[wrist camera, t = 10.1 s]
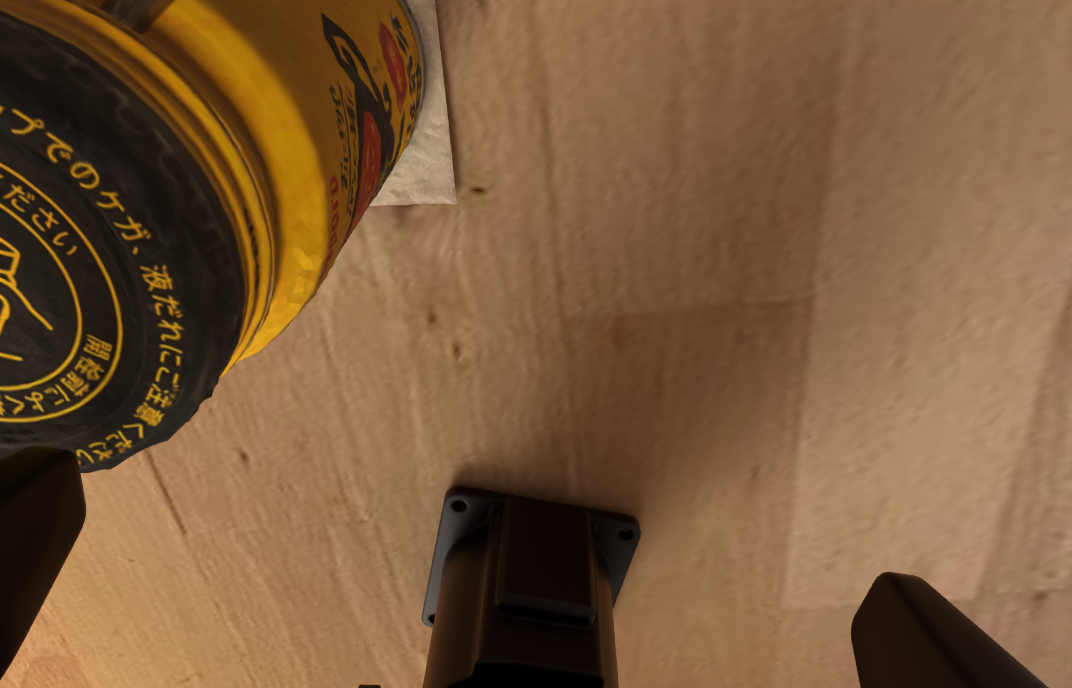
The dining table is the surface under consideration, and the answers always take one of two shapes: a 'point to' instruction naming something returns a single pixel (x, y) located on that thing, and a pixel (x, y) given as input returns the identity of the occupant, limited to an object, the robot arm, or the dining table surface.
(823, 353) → the dining table surface
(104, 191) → the condiment
